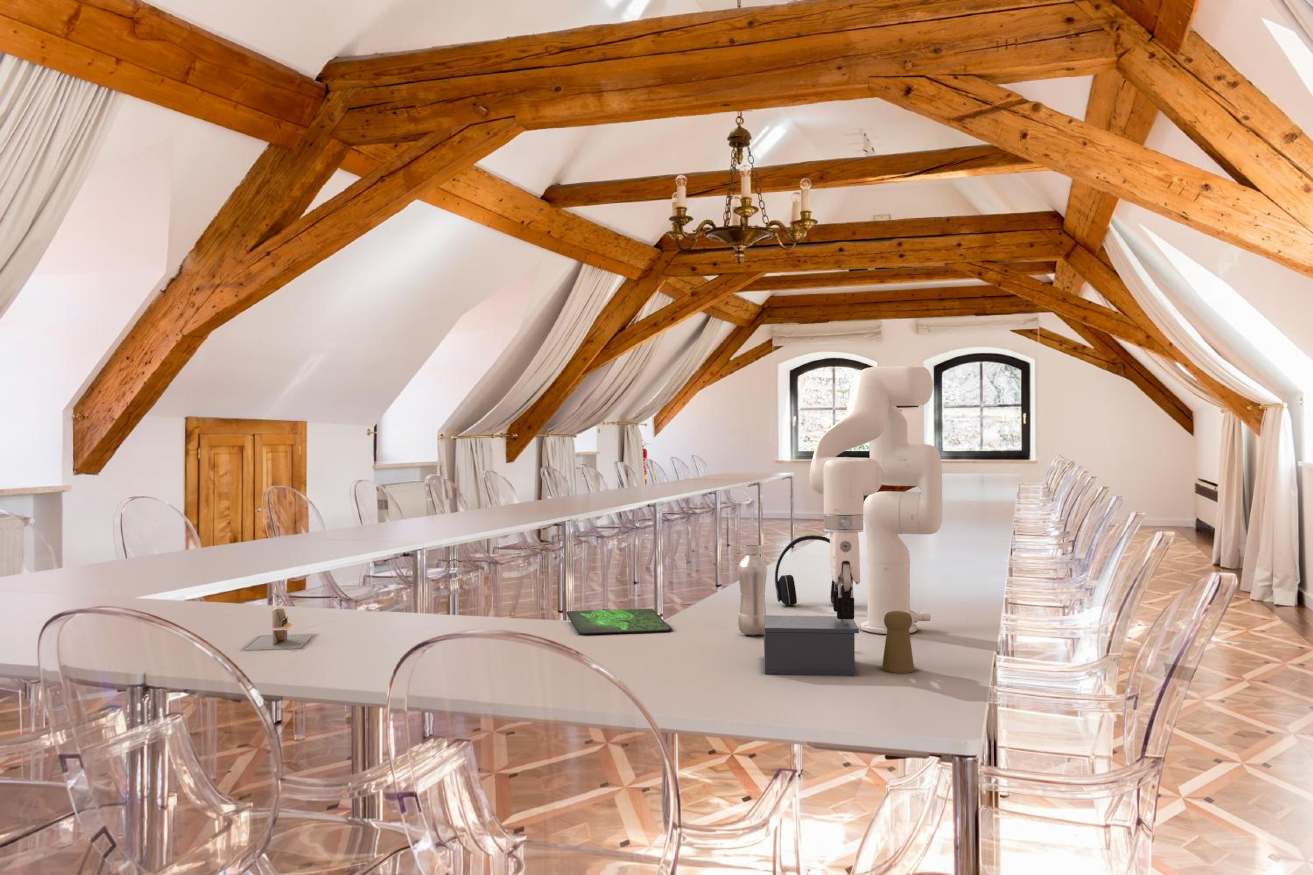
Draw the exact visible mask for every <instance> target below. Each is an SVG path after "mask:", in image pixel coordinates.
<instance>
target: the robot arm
mask: <svg viewBox="0 0 1313 875" xmlns="http://www.w3.org/2000/svg"><path fill="white" fill-rule="evenodd" d="M932 377H933V376H932V374H931V372H930V371H929V369H927V367H925V366H913V365H911V366H910V365H899V366H898V365H897V366H870V367H865V368H864V369H861V370H859V371H858V372H856V373H855V374H854V377H853V381H852V386H851V389H850V394H849V398H848V403H847V407H846V411H845V415H844V418H842V419H840V420H839V421H838V422H836V423H835V424H834V425H832V426H831V427H830V428H829V429H828V430H827V431H825V433H824V434H823V435H821V437H820V438H819V439H818V440H817V442H816V445H815V447H814V451H813V455H812V459H811V463H810V467H809V475H808V476H809V485H810V486H811V487H810V488H812V490H813V491H814V492H816V493H817V494H819V495H823V531H824V532H826V533H829V539H830V543H829V560H830V562H829V563H830V574H831V579H833V581H834V582H835V584H834V590H835V591H833V598H834V604H833V612H835V613H836V616H837V618H838V619H854V620H855V597H854V583H855V585H859V584H861V562H860V561H861V558H860V557H861V556H860V537H859V533H863V532H864V528H865V536H866V551H867V552H866V554H867V555H866V557H867V558H866V560H867V562H866V563H867V565H866V566H867V567H866V568H867V571H866V572H867V574H866V575H867V576H866V578H867V580H866V581H867V582H866V583H867V585H866V586H867V590H866V591H867V594H866V595H867V599H866V600H867V602H866V603H867V605H866V606H867V620H865V621H862V622H860V629H861V630H862V631H864V632H868V633H873V634H880V635H886V633H887V627H886V626H885V623H884V617H885V615H886V613H888V612H891V611H903V612H907V613H909V614H910V616H911V617H912V625H911V627H910V629H909V633H910V634H912V633H915V632H917V630H918V625H917V624H916V623H918V622H930V621H931V620H932V616H931V613H930V612H919V611H918V612H916V611H915V610H914V609H911V555H910V551H909V548H908V546H907V545H906V543H905V542H904V541H903V539H902V538H901V537H900V536H899V535H934V534H937V533H938V532H939V530H940V529H941V527H942V521H943V465H942V459H941V458H942V457H941V455H940V452H939V450H938V449H937V447H935V446H934V445H931V444H927V443H909V441H908V421H907V419H906V417H905V415H904V414H903V413H902V411H901V410H900V409H899V408H898V407H909V406H911V407H920V406H924V405H926V404H928V402H930V399H931V397H932V394H933V390H934V381H933V378H932ZM867 443H869V457H852V456H850V457H849V456H843V457H842V456H840V457H839V455H840V454H842V453H844V452H846V451H848V450H851V449H854V448H857V447H860V446H862V445H865V444H867ZM882 486H893V487H895V486H897V487H917V488H919V490H920V491H892V490H891V491H890V490H889V491H885V490H884V491H879V490H880V488H881V487H882ZM864 496H866V498H865V500H864Z"/></svg>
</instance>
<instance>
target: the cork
mask: <svg viewBox="0 0 1313 875" xmlns="http://www.w3.org/2000/svg"><path fill="white" fill-rule="evenodd" d="M884 623H885V626H886V627H887V633H886V634H885V642H884V650H883V658H882V665H881V669H882V671H885V672H888V673H894V674H895V673H896V674H906V673H907V674H908V673H912V672H913V673H914V671H915V664H914V663H915V662H914V656H913V649H912V642H911V633H909V629H910V627H911V625H912V617H911V616H910V614H909V613H907V612H903V611H891V612H888V613H886V615H885V617H884Z"/></svg>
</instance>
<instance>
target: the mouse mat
mask: <svg viewBox="0 0 1313 875" xmlns="http://www.w3.org/2000/svg"><path fill="white" fill-rule="evenodd" d="M566 616H567V617H568V619H569V621H570V623H571V624H572V627H573V628H574V629H575V631H576V633H577V634H579V635H608V634H611V635H612V634H637V633H639V634H641V633H664V632H671V631H672V630H673V628H672V627H671V625H669V624H668V623H666V621H665V620H664V619H663V618H661V616H660V615H659V614H658V613H657V612H656V611H655V609H653V608H622V609H594V610H593V609H591V610H569V611H566Z"/></svg>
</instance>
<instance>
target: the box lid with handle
mask: <svg viewBox="0 0 1313 875" xmlns="http://www.w3.org/2000/svg"><path fill="white" fill-rule="evenodd" d="M764 628H765V632H798V633H854V634H859V633H860V629H859V627H858V625H857V623H856V621H855V618H854V619H838V618H837V615H771V614H770V615H769V614H767V615H764Z"/></svg>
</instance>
